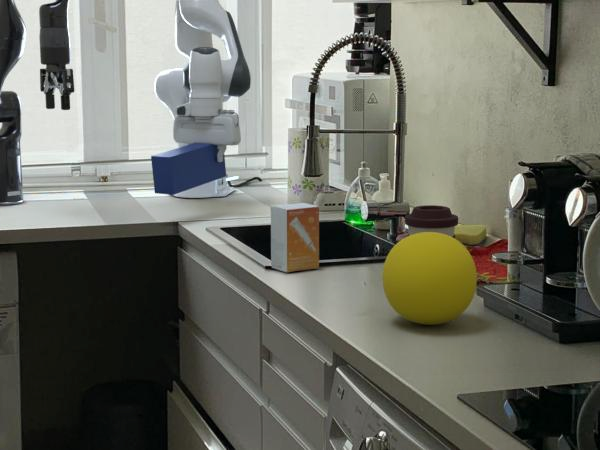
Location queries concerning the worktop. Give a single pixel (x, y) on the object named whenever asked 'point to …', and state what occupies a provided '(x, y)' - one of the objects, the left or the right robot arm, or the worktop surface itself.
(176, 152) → the box
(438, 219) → the coffee cup
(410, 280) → the toy
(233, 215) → the worktop surface
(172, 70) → the right robot arm
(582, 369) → the worktop surface
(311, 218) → the small box
